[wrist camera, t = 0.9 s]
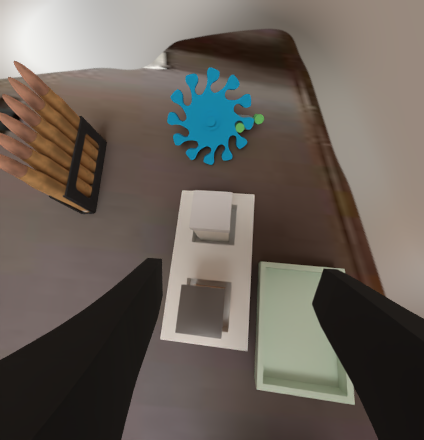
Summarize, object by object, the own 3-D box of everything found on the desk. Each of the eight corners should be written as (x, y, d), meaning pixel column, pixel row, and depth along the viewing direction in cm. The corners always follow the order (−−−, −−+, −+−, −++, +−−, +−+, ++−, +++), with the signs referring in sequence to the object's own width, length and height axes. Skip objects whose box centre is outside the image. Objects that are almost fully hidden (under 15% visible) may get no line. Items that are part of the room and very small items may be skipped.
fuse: (229, 243, 23) (229, 230, 17) (199, 241, 23) (188, 227, 17) (231, 214, 24) (232, 192, 18) (202, 212, 24) (193, 190, 18)
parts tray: (342, 392, 19) (354, 404, 17) (254, 378, 20) (256, 389, 18) (334, 269, 22) (344, 269, 20) (258, 262, 23) (261, 261, 21)
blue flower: (168, 163, 25) (163, 62, 21) (174, 153, 31) (172, 71, 26) (256, 168, 26) (273, 71, 21) (248, 158, 31) (260, 78, 26)
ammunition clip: (95, 213, 26) (-10, 162, 15) (81, 214, 26) (-33, 163, 15) (106, 141, 29) (27, 52, 18) (94, 142, 29) (7, 54, 18)
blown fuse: (223, 321, 21) (221, 338, 15) (190, 317, 21) (175, 332, 15) (226, 286, 22) (225, 289, 16) (194, 283, 22) (181, 284, 16)
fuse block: (245, 342, 21) (247, 351, 18) (168, 332, 22) (160, 339, 19) (252, 203, 25) (254, 194, 22) (186, 199, 26) (182, 190, 23)
